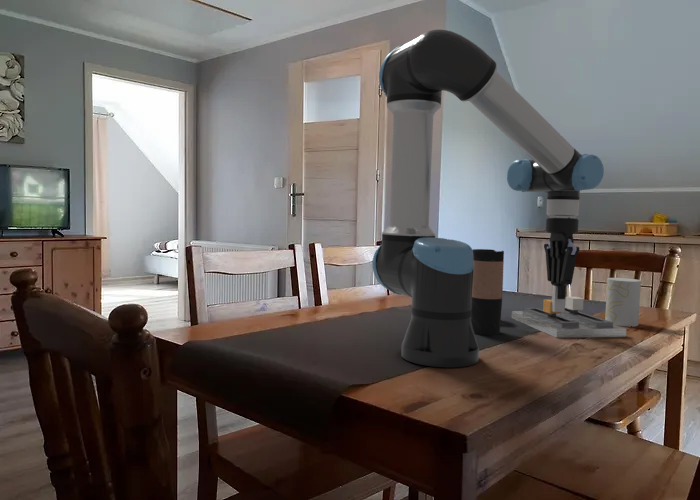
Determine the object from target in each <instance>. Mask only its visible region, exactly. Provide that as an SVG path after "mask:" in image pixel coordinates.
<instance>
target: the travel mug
mask: <svg viewBox="0 0 700 500" xmlns="http://www.w3.org/2000/svg"><path fill="white" fill-rule="evenodd" d="M472 250H473V259H474V269H473V287H472V307H471V323H472V327H473V330H474V334H475V335H480V336H483V335H484V336H497V335H499V334H500V332H501V322H502V321H501V320H502V308H503V306H502V305H503V292H504V291H503V289H504V287H503V286H504V263H505V262H504V260H505V259H504V256H505V255H504V254H505V252H504V250H501V251H500V250H499V251H497V250H495V249H488V248H487V249H486V248H476V249H475V248H472Z"/></svg>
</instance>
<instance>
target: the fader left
mask: <svg viewBox="0 0 700 500" xmlns="http://www.w3.org/2000/svg"><path fill="white" fill-rule="evenodd" d="M551 308H552V299H543V305H542V310H543V311H544V312H547V313H548V316H550V317H553V318H556V314H561V312H553V311H551Z"/></svg>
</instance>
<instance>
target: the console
mask: <svg viewBox="0 0 700 500" xmlns="http://www.w3.org/2000/svg"><path fill="white" fill-rule="evenodd" d="M511 319H513V320H514V321H517V322H519V323H522V324H524V325H526V326H528V327H531V328H533V329H536V330H538V331H540V332H543V333H545V334H547V335H549V336H552V337H554V338H557V339H558V338H559V339H560V338H562V339H563V338H564V339H565V338H567V339H568V338H569V339H570V338H571V339H572V338H627V328H626V327H624V326H617V325H613V322H611V321H607V320H605V318H602V317H601V318H600V317H598V316H594V315H591V314H588V313H585V312H582V311H580V310H578V315H577V314H574V313H571V312H570V309H568V308H565V309H564V312H561V314H556V318H553V317H550V316H548V313H547V312H544V311H543V308H539V307H522V310H512V311H511Z"/></svg>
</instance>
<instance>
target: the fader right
mask: <svg viewBox="0 0 700 500" xmlns="http://www.w3.org/2000/svg"><path fill="white" fill-rule="evenodd" d="M565 308H568V309H570V312H571V313H574V314H577V315H578V311H583V310H584V298H582V297H578V296H565Z"/></svg>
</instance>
